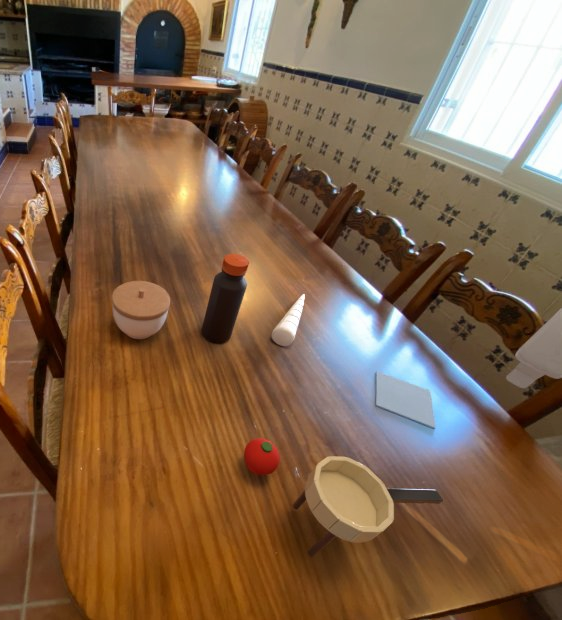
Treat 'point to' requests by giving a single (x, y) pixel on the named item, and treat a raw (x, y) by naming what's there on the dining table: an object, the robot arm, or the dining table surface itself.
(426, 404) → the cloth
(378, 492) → the pan
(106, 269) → the dining table surface
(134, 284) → the lidded bowl
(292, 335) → the unicorn horn
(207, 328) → the bottle
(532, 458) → the dining table surface
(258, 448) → the tomato
